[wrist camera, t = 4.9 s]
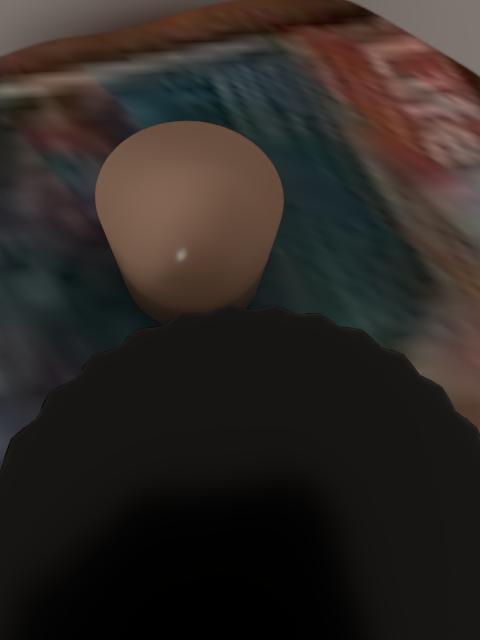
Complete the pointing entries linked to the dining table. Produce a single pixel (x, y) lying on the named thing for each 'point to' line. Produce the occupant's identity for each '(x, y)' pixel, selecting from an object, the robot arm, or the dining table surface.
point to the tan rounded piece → (189, 217)
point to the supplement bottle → (243, 492)
